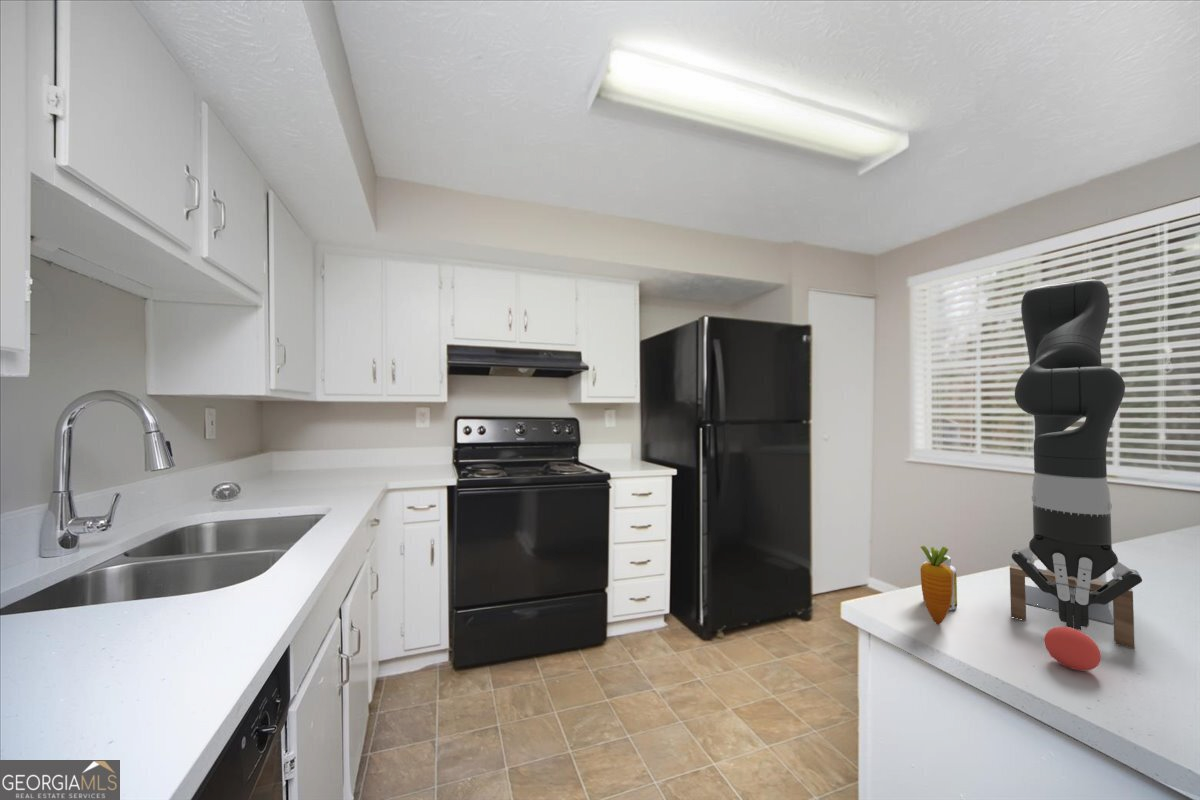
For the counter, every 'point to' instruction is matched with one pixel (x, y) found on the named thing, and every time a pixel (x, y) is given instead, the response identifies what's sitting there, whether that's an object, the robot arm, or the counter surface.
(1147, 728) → the counter surface
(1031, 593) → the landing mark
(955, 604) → the supplement bottle
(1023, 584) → the bridge
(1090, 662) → the ball
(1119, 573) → the robot arm
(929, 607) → the carrot
